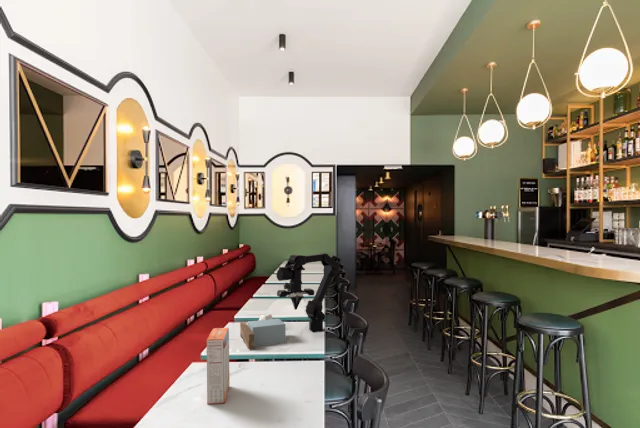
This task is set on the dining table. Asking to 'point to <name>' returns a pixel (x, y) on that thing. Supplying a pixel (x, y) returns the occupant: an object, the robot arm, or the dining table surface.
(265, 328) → the slate block
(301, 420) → the dining table surface
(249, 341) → the walnut board
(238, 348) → the dining table surface
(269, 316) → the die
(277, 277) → the robot arm
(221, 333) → the cracker box
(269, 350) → the dining table surface
